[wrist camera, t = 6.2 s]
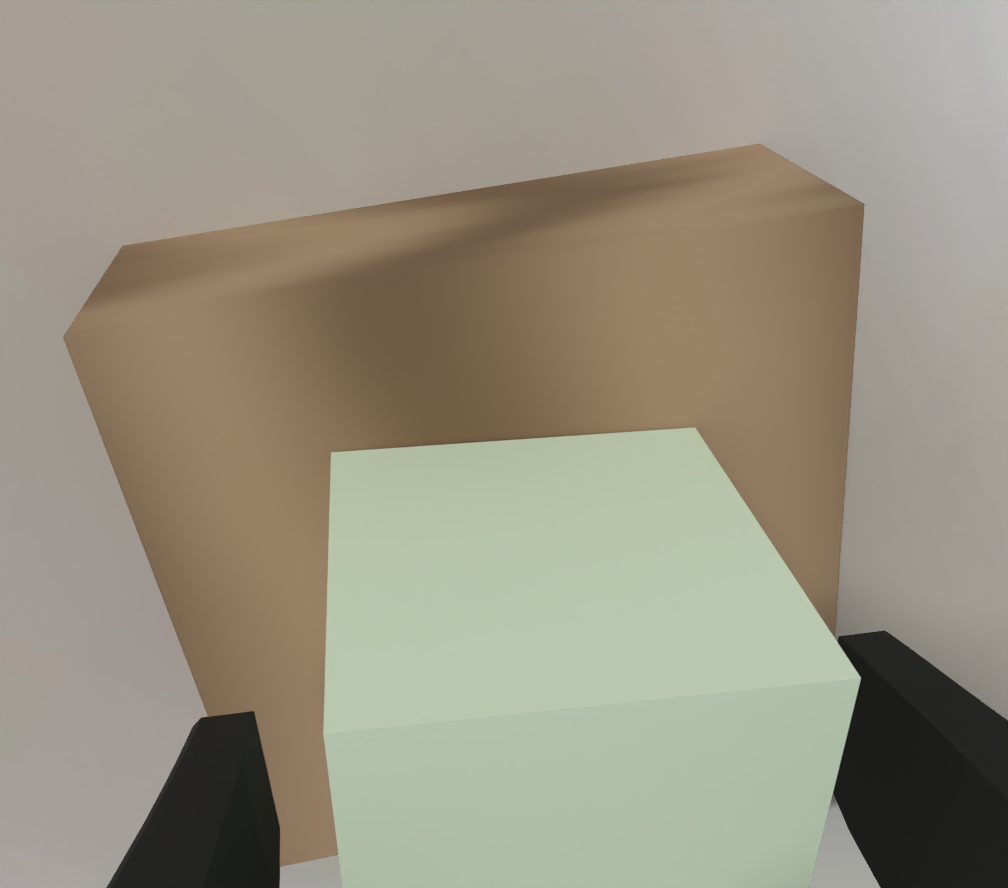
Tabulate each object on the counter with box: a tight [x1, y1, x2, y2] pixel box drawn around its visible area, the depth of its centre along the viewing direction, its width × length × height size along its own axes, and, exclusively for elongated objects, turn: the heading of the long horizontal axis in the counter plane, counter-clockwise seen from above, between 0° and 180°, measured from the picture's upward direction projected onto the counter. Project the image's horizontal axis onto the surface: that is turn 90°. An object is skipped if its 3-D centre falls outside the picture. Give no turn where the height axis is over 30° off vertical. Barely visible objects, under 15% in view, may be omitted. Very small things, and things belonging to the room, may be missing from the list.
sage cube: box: [323, 427, 861, 888], centre depth 12 cm, size 5×5×5 cm
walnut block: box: [63, 144, 864, 866], centre depth 16 cm, size 10×10×4 cm
